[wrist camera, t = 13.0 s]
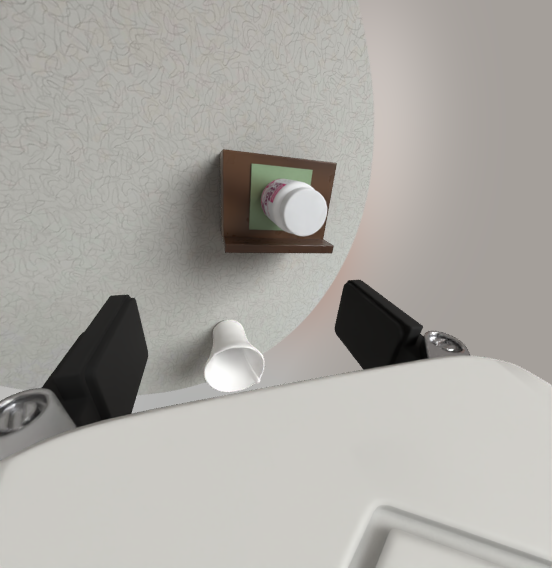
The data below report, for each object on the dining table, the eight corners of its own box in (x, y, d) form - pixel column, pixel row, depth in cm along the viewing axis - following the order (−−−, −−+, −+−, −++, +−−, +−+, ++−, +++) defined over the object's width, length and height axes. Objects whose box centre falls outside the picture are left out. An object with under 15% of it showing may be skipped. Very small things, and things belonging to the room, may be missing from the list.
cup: (232, 357, 45) (238, 402, 36) (192, 334, 40) (188, 380, 32) (265, 326, 44) (279, 366, 35) (227, 299, 39) (233, 337, 30)
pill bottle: (263, 174, 25) (285, 177, 18) (303, 182, 27) (338, 188, 19) (257, 218, 27) (274, 237, 20) (294, 224, 29) (324, 243, 21)
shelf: (219, 152, 30) (224, 146, 21) (313, 163, 33) (350, 162, 24) (220, 231, 34) (224, 253, 25) (303, 233, 37) (332, 253, 29)
